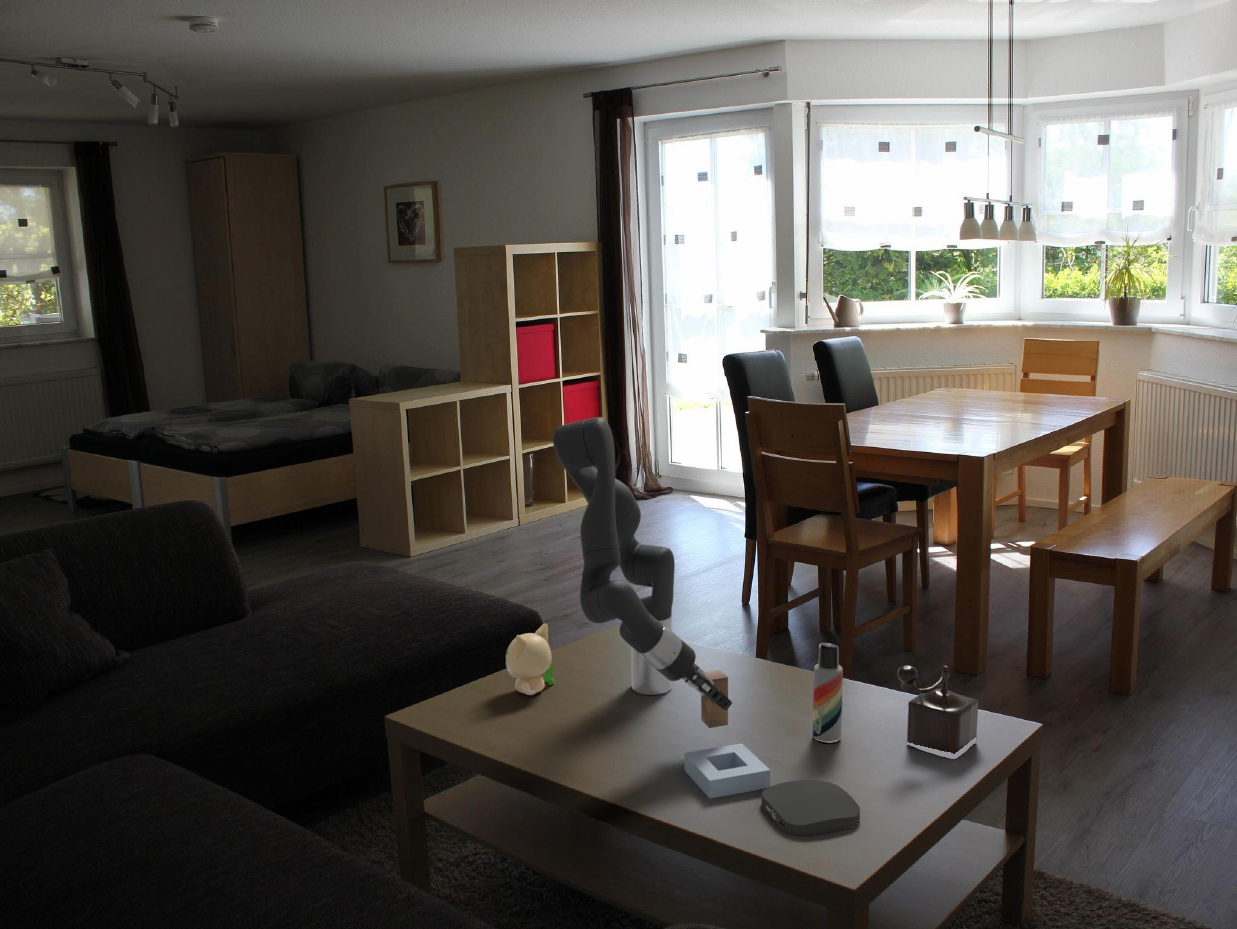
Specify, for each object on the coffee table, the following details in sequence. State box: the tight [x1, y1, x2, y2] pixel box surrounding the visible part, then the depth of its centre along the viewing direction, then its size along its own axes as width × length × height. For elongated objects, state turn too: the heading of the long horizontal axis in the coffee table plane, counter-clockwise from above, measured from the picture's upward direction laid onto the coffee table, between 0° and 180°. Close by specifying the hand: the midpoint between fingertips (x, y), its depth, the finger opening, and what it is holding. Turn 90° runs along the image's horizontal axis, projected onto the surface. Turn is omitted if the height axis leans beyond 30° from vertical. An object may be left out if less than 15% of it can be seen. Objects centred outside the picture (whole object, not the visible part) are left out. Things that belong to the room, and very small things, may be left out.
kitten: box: [505, 623, 555, 696], centre depth 242 cm, size 15×10×15 cm
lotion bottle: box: [812, 642, 844, 741], centre depth 214 cm, size 6×6×20 cm
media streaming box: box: [761, 779, 861, 837], centre depth 187 cm, size 15×15×3 cm
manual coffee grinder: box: [896, 664, 979, 754], centre depth 209 cm, size 16×11×18 cm
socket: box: [683, 743, 771, 800], centre depth 199 cm, size 12×12×4 cm
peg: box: [700, 669, 729, 729], centre depth 211 cm, size 4×4×10 cm
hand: (723, 701), depth 212 cm, fingers closed on peg, 4 cm apart
